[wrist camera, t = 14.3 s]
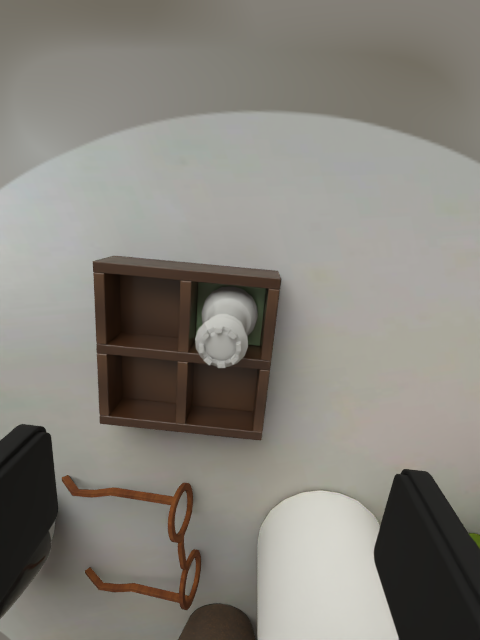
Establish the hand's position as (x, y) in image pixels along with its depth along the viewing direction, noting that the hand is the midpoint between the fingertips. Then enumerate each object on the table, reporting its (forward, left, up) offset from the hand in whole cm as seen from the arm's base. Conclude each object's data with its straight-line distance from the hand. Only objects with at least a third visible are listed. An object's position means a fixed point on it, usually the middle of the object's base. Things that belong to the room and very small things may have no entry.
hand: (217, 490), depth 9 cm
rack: (+4, -4, -20) cm, 21 cm away
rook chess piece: (0, -1, -19) cm, 19 cm away
